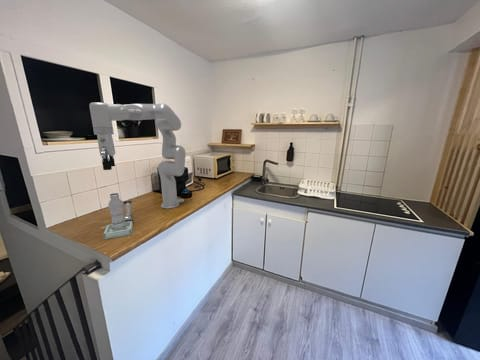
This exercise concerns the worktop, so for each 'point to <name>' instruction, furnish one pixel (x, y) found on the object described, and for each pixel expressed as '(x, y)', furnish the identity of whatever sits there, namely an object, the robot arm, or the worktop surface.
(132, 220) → the crank base
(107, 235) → the tray
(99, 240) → the worktop surface
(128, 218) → the crank
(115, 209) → the metal bottle
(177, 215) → the worktop surface
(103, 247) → the worktop surface
